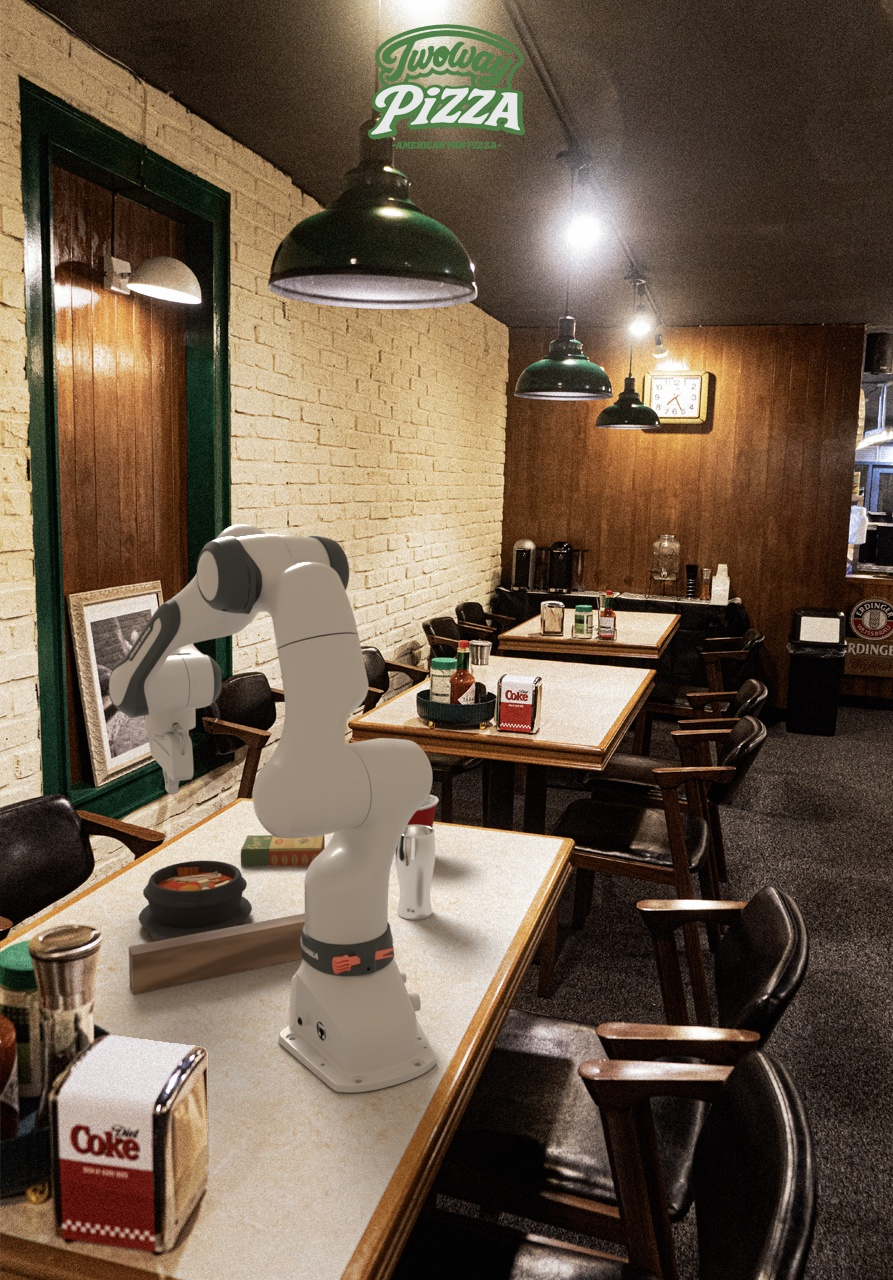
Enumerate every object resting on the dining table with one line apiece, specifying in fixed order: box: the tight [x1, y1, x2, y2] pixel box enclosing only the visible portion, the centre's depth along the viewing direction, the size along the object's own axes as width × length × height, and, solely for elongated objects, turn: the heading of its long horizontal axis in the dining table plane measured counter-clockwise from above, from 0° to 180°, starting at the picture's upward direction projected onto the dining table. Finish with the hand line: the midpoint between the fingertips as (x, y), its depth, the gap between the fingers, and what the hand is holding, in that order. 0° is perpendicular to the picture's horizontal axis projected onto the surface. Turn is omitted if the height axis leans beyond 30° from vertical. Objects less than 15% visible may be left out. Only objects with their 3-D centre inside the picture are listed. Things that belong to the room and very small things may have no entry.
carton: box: [240, 834, 326, 868], centre depth 193 cm, size 8×16×4 cm, turn 93°
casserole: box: [138, 860, 253, 942], centre depth 162 cm, size 25×19×8 cm
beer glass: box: [394, 825, 436, 921], centre depth 167 cm, size 7×7×15 cm
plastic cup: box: [407, 794, 440, 828], centre depth 195 cm, size 11×11×12 cm
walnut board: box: [128, 912, 305, 995], centre depth 145 cm, size 3×28×6 cm, turn 118°
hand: (171, 792), depth 175 cm, fingers closed
